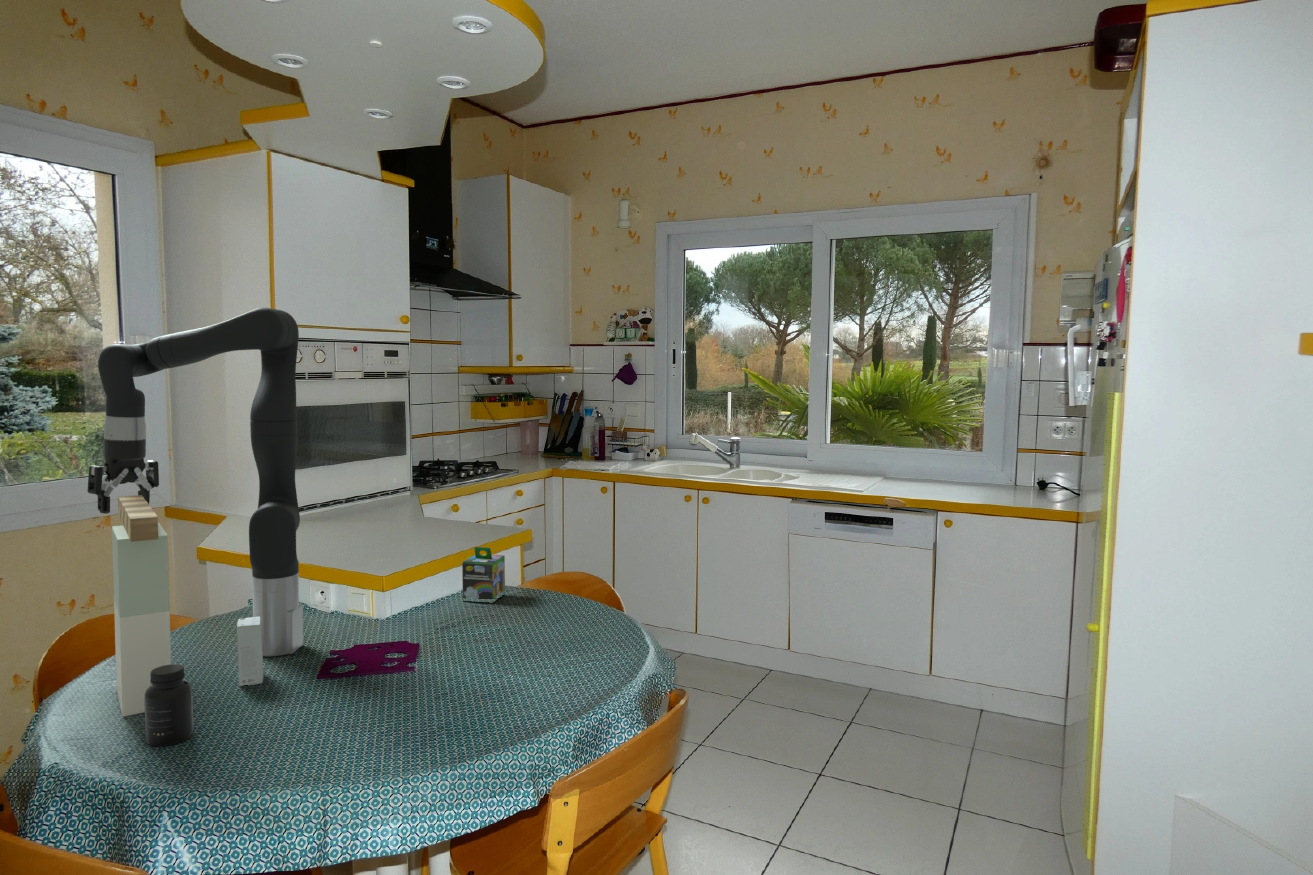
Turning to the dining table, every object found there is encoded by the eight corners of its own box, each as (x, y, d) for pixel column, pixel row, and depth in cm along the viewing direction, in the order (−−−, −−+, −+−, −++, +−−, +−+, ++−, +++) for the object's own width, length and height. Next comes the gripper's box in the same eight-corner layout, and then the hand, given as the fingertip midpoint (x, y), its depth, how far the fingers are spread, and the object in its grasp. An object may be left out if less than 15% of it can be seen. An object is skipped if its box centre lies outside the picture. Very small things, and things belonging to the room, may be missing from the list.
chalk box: (505, 595, 219) (506, 543, 218) (492, 604, 210) (493, 550, 209) (475, 592, 221) (475, 541, 220) (461, 601, 212) (461, 548, 211)
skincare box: (263, 683, 154) (262, 624, 153) (237, 687, 152) (236, 626, 151) (263, 672, 159) (262, 615, 158) (238, 676, 157) (237, 617, 156)
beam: (118, 516, 156) (118, 496, 156) (142, 514, 158) (141, 495, 158) (131, 541, 134) (130, 518, 134) (158, 539, 136) (157, 516, 136)
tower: (116, 690, 149) (111, 526, 146) (162, 681, 153) (158, 522, 151) (122, 716, 138) (117, 539, 135) (171, 706, 142) (167, 535, 140)
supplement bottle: (159, 728, 134) (158, 661, 133) (201, 728, 134) (199, 661, 133) (136, 747, 127) (134, 676, 126) (180, 747, 127) (178, 676, 126)
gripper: (104, 440, 160) (103, 517, 161) (168, 436, 173) (167, 507, 175) (79, 437, 162) (78, 512, 164) (143, 433, 176) (142, 503, 177)
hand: (124, 510), depth 169 cm, fingers open, 8 cm apart
